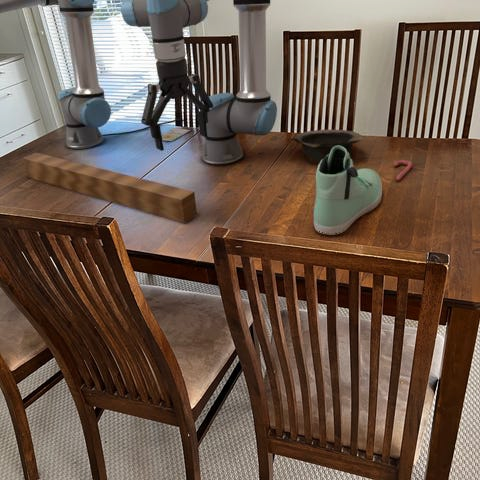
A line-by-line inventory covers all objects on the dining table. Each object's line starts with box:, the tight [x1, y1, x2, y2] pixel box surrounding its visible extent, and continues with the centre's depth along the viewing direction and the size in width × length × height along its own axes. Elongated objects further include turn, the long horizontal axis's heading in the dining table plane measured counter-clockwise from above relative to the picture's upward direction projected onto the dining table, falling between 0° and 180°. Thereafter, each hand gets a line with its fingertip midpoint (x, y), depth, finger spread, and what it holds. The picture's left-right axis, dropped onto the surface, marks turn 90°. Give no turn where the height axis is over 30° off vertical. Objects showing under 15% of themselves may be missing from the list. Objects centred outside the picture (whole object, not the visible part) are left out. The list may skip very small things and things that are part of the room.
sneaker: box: [313, 146, 383, 236], centre depth 133 cm, size 14×35×20 cm, turn 152°
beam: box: [22, 152, 198, 224], centre depth 157 cm, size 75×6×8 cm, turn 56°
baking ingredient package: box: [161, 127, 191, 142], centre depth 205 cm, size 9×1×15 cm
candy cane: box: [393, 159, 413, 182], centre depth 157 cm, size 6×15×2 cm, turn 145°
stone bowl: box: [292, 129, 365, 164], centre depth 172 cm, size 25×25×9 cm
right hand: (182, 142), depth 128 cm, fingers open, 13 cm apart
